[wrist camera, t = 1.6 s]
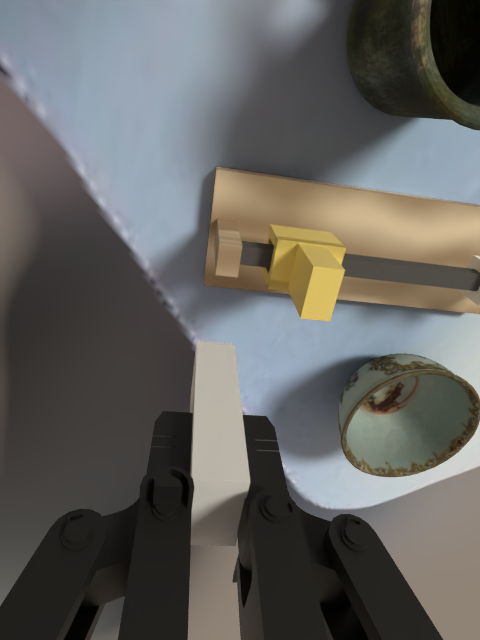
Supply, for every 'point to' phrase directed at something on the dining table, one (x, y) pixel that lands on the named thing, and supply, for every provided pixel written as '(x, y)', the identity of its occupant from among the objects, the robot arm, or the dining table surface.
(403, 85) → the mug
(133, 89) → the dining table surface
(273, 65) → the dining table surface
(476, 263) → the band
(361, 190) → the wooden slider rail
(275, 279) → the sleeve
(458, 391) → the bowl
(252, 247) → the rod
